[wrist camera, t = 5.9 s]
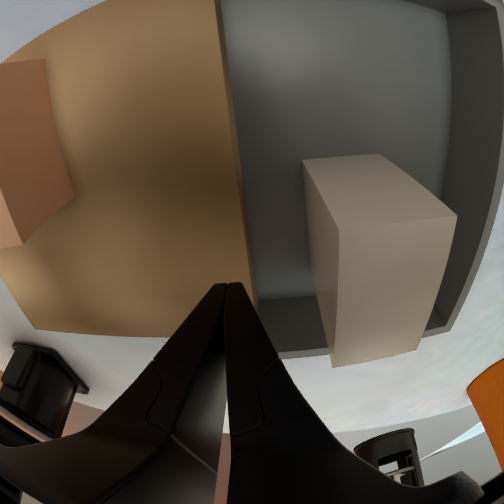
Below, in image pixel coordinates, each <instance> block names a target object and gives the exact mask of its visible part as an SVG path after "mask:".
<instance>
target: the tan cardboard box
mask: <svg viewBox="0 0 504 504" xmlns="http://www.w3.org/2000/svg"><path fill="white" fill-rule="evenodd" d="M73 197H75V195H74V192H73V189H72V185H71V182H70V179H69V176H68V172H67V169H66V166H65V162H64V159H63V155H62V151H61V147H60V143H59V139H58V135H57V131H56V126H55V122H54V117H53V112H52V107H51V101H50V96H49V90H48V83H47V76H46V68H45V59H37V60H26V61H18V62H10V63H3V64H0V249H3V248H8V247H13V246H19V245H23V244H24V243H25V242H26V241H27V240H28V239H29V238H30V237H31V236H32V235H33V234H34V233H35V232H36V231H37V230H38V229H39V228H40V227H41V226H42V225H43V224H44V223H46V222H47V221H48V220H49V219H50V218H51V217H52V216H53V215H54V214H55V213H56V212H57V211H58V210H60V209H61V208H62V207H63V206H64V205H65V204H66V203H68V202H69V201H70V200H71V199H72V198H73Z"/></svg>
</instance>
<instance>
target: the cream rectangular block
mask: <svg viewBox="0 0 504 504" xmlns="http://www.w3.org/2000/svg"><path fill="white" fill-rule="evenodd" d="M302 168H303V178H304V188H305V199H306V210H307V223H308V236H309V252H310V269H311V275H312V279H313V283H314V287H315V292H316V296H317V300H318V304H319V309H320V313H321V317H322V322H323V326H324V331H325V335H326V340H327V345H328V349H329V354H330V359H331V364H332V368H336V367H342V366H347V365H352V364H358V363H363V362H367V361H372V360H377V359H381V358H386V357H390V356H394V355H398V354H402V353H406V352H410V351H413V350H416V349H417V347H418V345H419V342H420V340H421V337H422V335H423V333H424V330H425V327H426V325H427V322H428V320H429V317H430V314H431V311H432V309H433V306H434V303H435V300H436V297H437V294H438V291H439V288H440V285H441V281H442V278H443V275H444V271H445V268H446V264H447V260H448V256H449V252H450V248H451V244H452V240H453V235H454V231H455V226H456V221H457V215H456V214H455V213H454V212H453V211H452V210H450V209H449V208H448V207H447V206H446V205H445V204H444V203H443V202H441V201H440V200H439V199H438V198H437V197H436V196H434V195H433V194H432V193H431V192H430V191H428V190H427V189H426V188H425V187H423V186H422V185H421V184H420V183H418V182H417V181H416V180H415V179H413V178H412V177H411V176H409V175H408V174H407V173H406V172H404V171H403V170H402V169H400V168H399V167H397V166H396V165H395V164H393V163H392V162H391V161H389V160H388V159H386V158H385V157H384V156H382V155H381V154H366V155H351V156H339V157H327V158H317V159H308V160H302Z"/></svg>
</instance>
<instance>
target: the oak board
mask: <svg viewBox="0 0 504 504" xmlns="http://www.w3.org/2000/svg"><path fill="white" fill-rule="evenodd" d="M37 59H45V68H46V76H47V83H48V90H49V96H50V101H51V107H52V112H53V117H54V122H55V126H56V131H57V135H58V139H59V143H60V147H61V151H62V155H63V159H64V162H65V166H66V169H67V172H68V176H69V179H70V182H71V185H72V189H73V192H74V195H75V197H73V198H72V199H71V200H70V201H69V202H68V203H66V204H65V205H64V206H63V207H62V208H61V209H60V210H58V211H57V212H56V213H55V214H54V215H53V216H52V217H51V218H50V219H49V220H48V221H47V222H46V223H44V224H43V225H42V226H41V227H40V228H39V229H38V230H37V231H36V232H35V233H34V234H33V235H32V236H31V237H30V238H29V239H28V240H27V241H26V242H25V243H24V244H23V245H19V246H13V247H8V248H3V249H0V275H1V277H2V279H3V280H4V282H5V284H6V286H7V287H8V289H9V291H10V292H11V294H12V296H13V297H14V299H15V300H16V302H17V303H18V305H19V307H20V308H21V310H22V311H23V313H24V314H25V315H26V317H27V318H28V320H29V321H30V323H31V324H32V325H33V327H34V328H35V329H39V330H48V331H57V332H67V333H78V334H91V335H107V336H128V337H171V336H172V335H173V334H174V332H175V331H176V330H177V329H178V327H179V326H180V325H181V324H182V323H183V321H184V320H185V319H186V318H187V316H188V315H189V314H190V313H191V311H192V310H193V309H194V308H195V307H196V305H197V304H198V303H199V302H200V300H201V299H202V298H203V297H204V296H205V294H206V293H207V292H208V291H209V289H210V288H211V287H212V286H213V285H214V284H215V283H227V284H229V283H230V282H242V283H243V285H244V287H245V289H246V291H247V293H248V296H249V298H250V300H251V302H252V304H253V306H254V308H255V310H256V312H257V314H258V298H257V290H256V282H255V274H254V266H253V258H252V250H251V242H250V234H249V226H248V218H247V210H246V202H245V194H244V186H243V178H242V170H241V162H240V154H239V146H238V138H237V130H236V122H235V114H234V106H233V97H232V89H231V81H230V73H229V65H228V57H227V49H226V41H225V33H224V25H223V17H222V9H221V1H220V0H107V1H105V2H102V3H100V4H98V5H96V6H93V7H91V8H89V9H87V10H85V11H83V12H81V13H79V14H77V15H75V16H73V17H71V18H69V19H67V20H65V21H64V22H62V23H60V24H58V25H57V26H55V27H53V28H51V29H50V30H48V31H46V32H45V33H43V34H42V35H40V36H38V37H37V38H35V39H34V40H32V41H31V42H29V43H28V44H26V45H25V46H24V47H22V48H21V49H19V50H18V51H17V52H15V53H14V54H13V55H11V56H10V57H9V58H7V59H6V60H5V61H3V62H2V63H1V64H3V63H10V62H18V61H26V60H37Z"/></svg>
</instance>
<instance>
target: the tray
mask: <svg viewBox="0 0 504 504" xmlns="http://www.w3.org/2000/svg"><path fill="white" fill-rule="evenodd" d="M220 1H221V9H222V17H223V25H224V33H225V41H226V49H227V57H228V65H229V73H230V81H231V89H232V97H233V106H234V114H235V122H236V130H237V138H238V146H239V154H240V162H241V170H242V178H243V186H244V194H245V202H246V210H247V218H248V226H249V234H250V242H251V250H252V258H253V266H254V274H255V282H256V290H257V298H258V316H259V318H260V320H261V322H262V324H263V326H264V328H265V329H266V331H267V333H268V335H269V337H270V339H271V341H272V343H273V345H274V347H275V349H276V351H277V353H278V355H279V357H280V359H290V358H301V357H311V356H320V355H328V354H329V349H328V345H327V340H326V335H325V331H324V326H323V322H322V317H321V313H320V309H319V304H318V300H317V296H316V292H315V287H314V283H313V279H312V275H311V269H310V252H309V236H308V223H307V210H306V199H305V188H304V178H303V168H302V160H308V159H317V158H327V157H339V156H351V155H366V154H381V155H382V156H384V157H385V158H386V159H388V160H389V161H391V162H392V163H393V164H395V165H396V166H397V167H399V168H400V169H402V170H403V171H404V172H406V173H407V174H408V175H409V176H411V177H412V178H413V179H415V180H416V181H417V182H418V183H420V184H421V185H422V186H423V187H425V188H426V189H427V190H428V191H430V192H431V193H432V194H433V195H434V196H436V197H437V198H438V199H439V200H440V201H441V202H443V203H444V204H445V205H446V206H447V207H448V208H449V209H450V210H452V211H453V212H454V213H455V214H456V215H457V221H456V226H455V231H454V235H453V240H452V244H451V248H450V252H449V256H448V260H447V264H446V268H445V271H444V275H443V278H442V281H441V285H440V288H439V291H438V294H437V297H436V300H435V303H434V306H433V309H432V311H431V314H430V317H429V320H428V322H427V325H426V327H425V330H424V333H423V335H422V337H421V338H424V337H428V336H433V335H437V334H441V333H444V332H448V331H450V330H451V328H452V326H453V324H454V322H455V320H456V318H457V316H458V314H459V312H460V310H461V308H462V306H463V304H464V302H465V299H466V297H467V295H468V293H469V290H470V288H471V286H472V283H473V281H474V279H475V276H476V274H477V271H478V268H479V266H480V263H481V261H482V258H483V255H484V252H485V249H486V246H487V243H488V240H489V237H490V234H491V231H492V227H493V224H494V220H495V217H496V213H497V209H498V205H499V201H500V197H501V193H502V188H503V183H504V4H503V1H502V0H220Z"/></svg>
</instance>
